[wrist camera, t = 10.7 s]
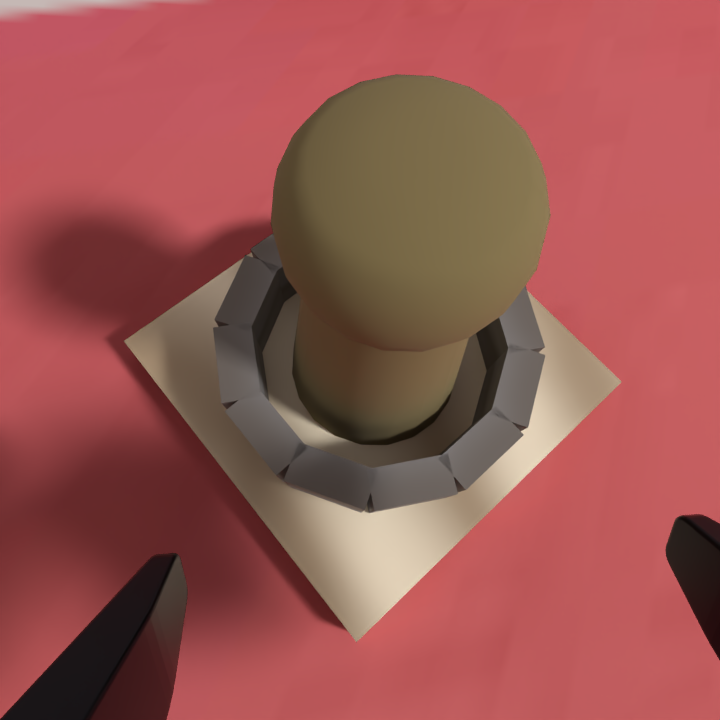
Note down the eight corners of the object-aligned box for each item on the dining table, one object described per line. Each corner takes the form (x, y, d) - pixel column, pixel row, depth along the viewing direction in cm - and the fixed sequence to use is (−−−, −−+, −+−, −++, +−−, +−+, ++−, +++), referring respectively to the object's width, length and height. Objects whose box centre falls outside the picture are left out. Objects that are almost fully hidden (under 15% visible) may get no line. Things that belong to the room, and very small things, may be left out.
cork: (265, 326, 19) (176, 80, 8) (408, 265, 20) (486, -22, 9) (335, 475, 17) (331, 399, 7) (486, 400, 18) (683, 235, 8)
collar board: (355, 634, 17) (360, 662, 13) (136, 351, 20) (92, 313, 16) (605, 389, 20) (662, 360, 16) (385, 175, 23) (394, 111, 19)
